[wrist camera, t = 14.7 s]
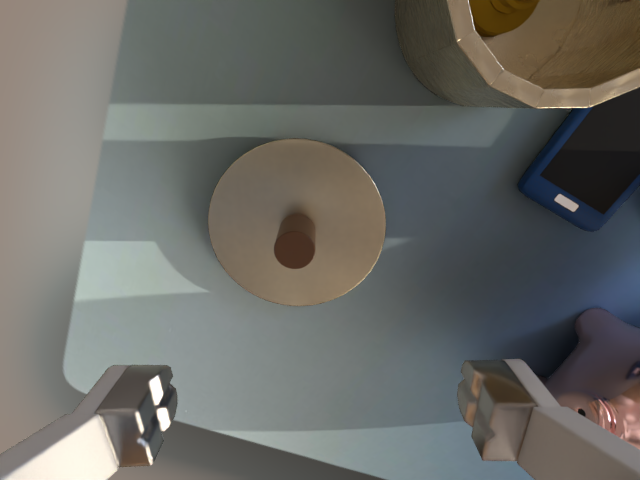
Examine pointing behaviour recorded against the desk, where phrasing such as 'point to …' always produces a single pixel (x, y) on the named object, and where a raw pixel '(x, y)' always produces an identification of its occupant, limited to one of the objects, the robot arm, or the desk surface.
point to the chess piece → (500, 15)
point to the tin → (524, 53)
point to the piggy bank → (602, 374)
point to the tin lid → (297, 222)
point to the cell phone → (589, 163)
